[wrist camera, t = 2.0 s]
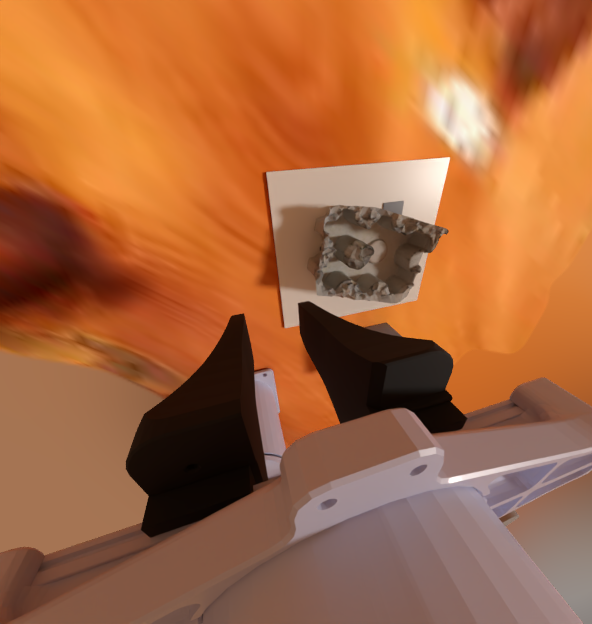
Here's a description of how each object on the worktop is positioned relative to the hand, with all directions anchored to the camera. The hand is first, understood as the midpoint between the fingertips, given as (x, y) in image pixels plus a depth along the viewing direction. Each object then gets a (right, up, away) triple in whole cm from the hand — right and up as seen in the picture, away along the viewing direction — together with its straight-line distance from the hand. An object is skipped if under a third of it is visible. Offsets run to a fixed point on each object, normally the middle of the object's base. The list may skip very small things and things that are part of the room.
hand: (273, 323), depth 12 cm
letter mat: (+7, +7, +10) cm, 14 cm away
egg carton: (+7, +7, +10) cm, 14 cm away
